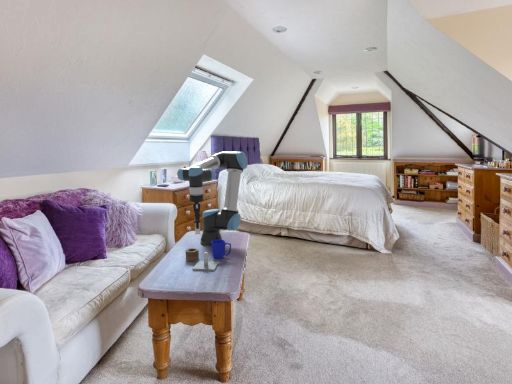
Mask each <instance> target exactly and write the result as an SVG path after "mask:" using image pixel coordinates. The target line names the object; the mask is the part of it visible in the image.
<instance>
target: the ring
mask: <svg viewBox="0 0 512 384" xmlns="http://www.w3.org/2000/svg"><path fill="white" fill-rule="evenodd" d="M199 256H200V255H199V249H198V248H196V247H195V248H194V247H190V248H186V250H185V261H186V262H187V263H188V262H189V263H195V262H198V261H200V260H199V259H200V257H199Z"/></svg>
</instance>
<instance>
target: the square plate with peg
mask: <svg viewBox="0 0 512 384" xmlns="http://www.w3.org/2000/svg"><path fill="white" fill-rule="evenodd" d="M219 264H220V261H215V260H213V261H209V252H207V251H205V252H203V260H198V261H196V263H195V265H194V266H193V267H192V271H197V272H198V271H201V272H215V270H216V269H217V267H218V266H219Z"/></svg>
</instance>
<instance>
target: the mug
mask: <svg viewBox="0 0 512 384" xmlns="http://www.w3.org/2000/svg"><path fill="white" fill-rule="evenodd" d="M211 244H212V245H211V252H212V257H213V258H214V259H218V260H219V259H223V258H224V257H225V256H230V254H231V249H232V243H230V242H226V241H225V240H224V239H222V240H213V241H212V242H211ZM226 245H229V251H228V253H226Z"/></svg>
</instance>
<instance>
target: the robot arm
mask: <svg viewBox="0 0 512 384" xmlns="http://www.w3.org/2000/svg"><path fill="white" fill-rule="evenodd" d="M247 167H248V158H247V155H246V153H245V152H244V151H220V152H216V153H213V154H212V155H210V156H209V157H208V158H207V159H204V160H202V161H200V162H198V163H195V164H193V165H191V166H189V167H180V168H179V169H178V170H177V173H176V175H177V179H178V180H179V181H184V182H186V181H187V182H188V183H189V184H188V185H189V188H188V191H189V201H190V202H191V203H193V204H192V206H193V213H194V220H193V224H194V229H195V230H194V233H195V235H201V237H200V244H201V245H203V246H209V247H210V246H211V247H212V244H211V242H212V241H213V240H223V237H222V234H221V232H220V231H221V230H224V231H229V232H230V231H236V230H238V228H240V227H239V226H240V224H241V221H242V217H241V214H240V213H239V210H238V208H237V207H238V198H239V191H240V189H239V188H240V182H241V175H242V173H244V170H245V169H247ZM217 169H225V170H226V172H227V179H226V181H227V182H226V189H225V194H224V195H225V197H224V203H223V207H222V208H221V209H219V208H213V209H207V210H204V211H203V212H202V217H201V214H200V212H201V203H202V202H203V201H204V185H203V184H204V183H206V182H210V181H213V180H214V179H215V177H216V175H215V171H214V170H217ZM199 202H201V203H199ZM220 210H221V211H220ZM200 217H201V218H202V234H201V221H200V219H201V218H200Z"/></svg>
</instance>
